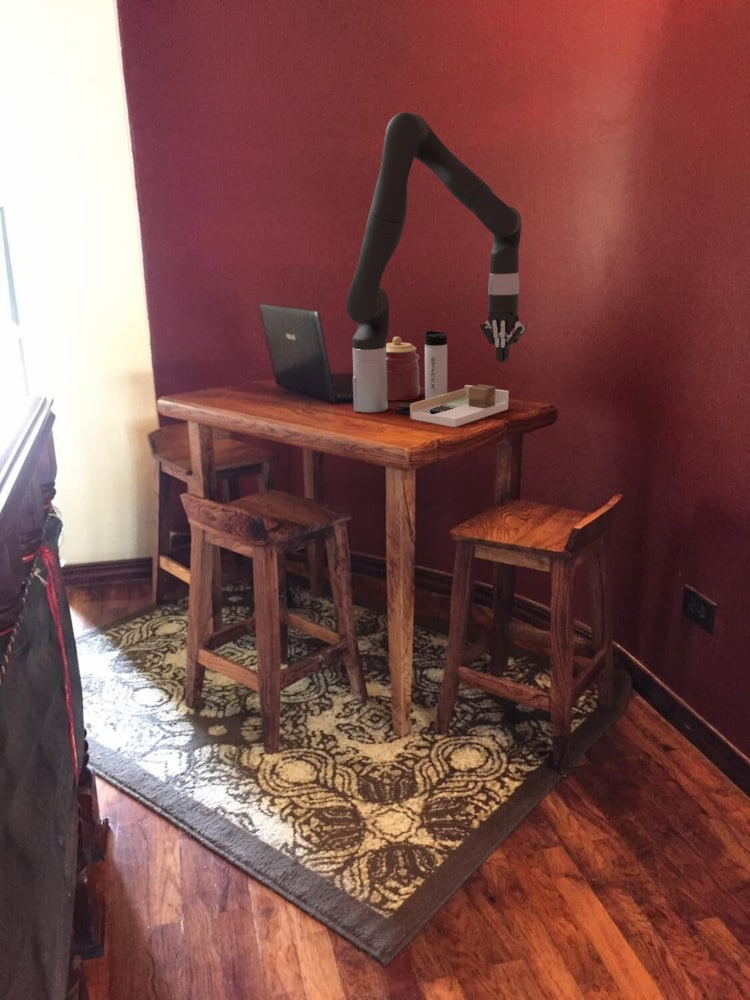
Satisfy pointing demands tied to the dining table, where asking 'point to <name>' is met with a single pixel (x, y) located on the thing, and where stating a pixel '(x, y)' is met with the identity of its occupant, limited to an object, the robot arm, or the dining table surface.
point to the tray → (456, 408)
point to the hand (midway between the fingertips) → (502, 361)
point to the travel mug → (435, 364)
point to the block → (482, 396)
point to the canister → (402, 371)
